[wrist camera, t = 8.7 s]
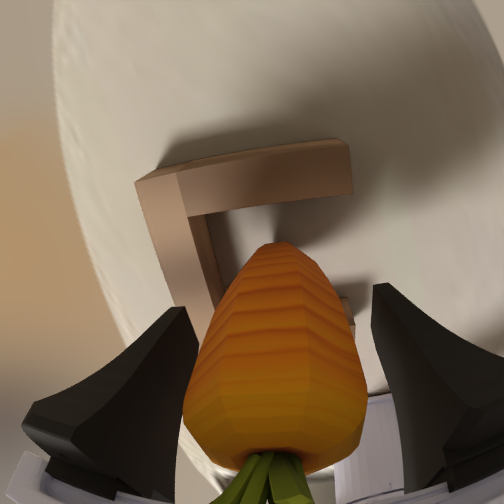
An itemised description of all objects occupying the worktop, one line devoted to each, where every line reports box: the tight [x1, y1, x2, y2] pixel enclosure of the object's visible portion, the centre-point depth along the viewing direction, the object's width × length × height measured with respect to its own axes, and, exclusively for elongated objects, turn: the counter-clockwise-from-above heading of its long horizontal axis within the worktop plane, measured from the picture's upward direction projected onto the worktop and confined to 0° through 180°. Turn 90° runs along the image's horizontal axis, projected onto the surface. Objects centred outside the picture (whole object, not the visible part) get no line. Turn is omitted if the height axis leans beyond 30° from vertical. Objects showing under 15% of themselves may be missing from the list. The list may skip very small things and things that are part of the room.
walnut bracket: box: [134, 138, 356, 354], centre depth 15 cm, size 11×9×2 cm
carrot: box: [183, 241, 368, 504], centre depth 9 cm, size 5×5×15 cm
